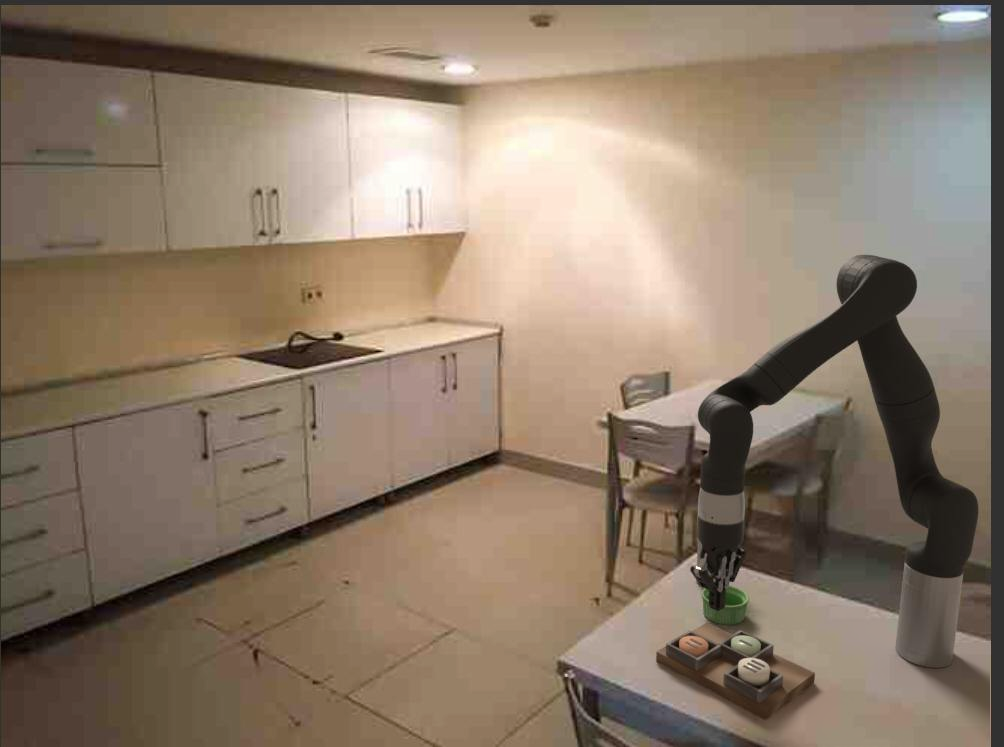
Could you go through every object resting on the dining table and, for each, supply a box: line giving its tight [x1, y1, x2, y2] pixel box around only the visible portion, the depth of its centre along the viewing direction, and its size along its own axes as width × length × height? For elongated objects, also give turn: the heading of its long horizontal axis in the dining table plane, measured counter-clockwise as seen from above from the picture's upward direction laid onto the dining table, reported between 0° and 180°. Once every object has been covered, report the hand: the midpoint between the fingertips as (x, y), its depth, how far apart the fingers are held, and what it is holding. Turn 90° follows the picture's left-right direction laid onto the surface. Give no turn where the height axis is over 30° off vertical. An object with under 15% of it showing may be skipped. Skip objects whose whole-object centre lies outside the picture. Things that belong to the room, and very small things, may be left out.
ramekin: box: [701, 585, 750, 626], centre depth 160 cm, size 9×9×4 cm
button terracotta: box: [679, 636, 708, 658], centre depth 143 cm, size 5×5×2 cm
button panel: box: [655, 622, 816, 721], centre depth 141 cm, size 15×22×4 cm
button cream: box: [738, 658, 770, 686], centre depth 134 cm, size 5×5×2 cm
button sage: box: [731, 635, 761, 657], centre depth 143 cm, size 5×5×2 cm
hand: (717, 607), depth 139 cm, fingers closed
